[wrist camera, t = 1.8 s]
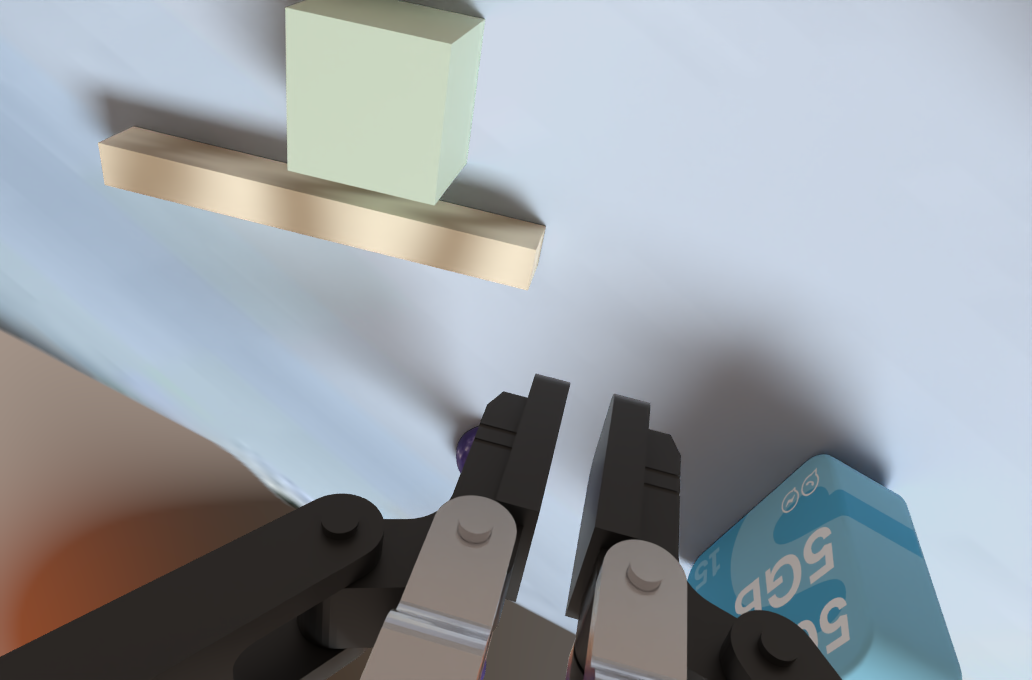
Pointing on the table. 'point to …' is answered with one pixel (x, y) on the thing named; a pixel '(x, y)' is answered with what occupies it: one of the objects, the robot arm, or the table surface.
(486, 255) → the parallel wooden bars
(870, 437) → the table surface
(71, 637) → the robot arm
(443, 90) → the sage block
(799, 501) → the data package
